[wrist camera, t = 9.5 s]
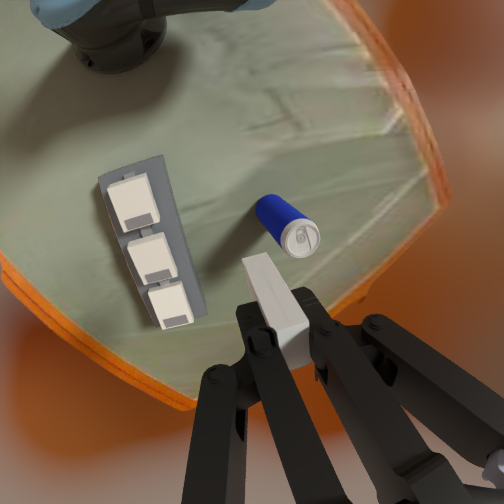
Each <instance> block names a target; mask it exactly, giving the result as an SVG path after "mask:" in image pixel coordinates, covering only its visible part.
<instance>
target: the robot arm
mask: <svg viewBox="0 0 504 504" xmlns="http://www.w3.org/2000/svg"><path fill="white" fill-rule="evenodd" d="M275 1H277V0H30V8H31V11H32V13H33V15H34V16H35V17H36V18H37V19H38V20H40V21H41V23H42V25H43V26H44V27H46V28H48V29H50V30H52V31H54V32H55V33H57V34H59V35H60V36H62V37H63V38H65V39H67V40H68V41H70V42H71V43H73V44H74V48H75V53H76V55H77V57H78V59H79V60H80V62H81V63H82V64H83V65H84V66H86V67H87V68H89V69H91V70H92V71H95V72H97V73H102V74H115V73H121V72H124V71H127V70H130V69H132V68H134V67H136V66H138V65H140V64H141V63H143V62H144V61H145V60H147V59H148V58H149V57H150V56H151V55H152V54H153V53H154V52H155V51H156V50H157V49H158V47H159V46H160V44H161V43H162V41H163V39H164V36H165V33H166V28H167V21H166V16H169V15H176V14H184V13H194V12H207V11H224V12H235V11H240V10H260V9H263V8H266V7H269V6H270V5H272V4H273V3H274V2H275ZM242 262H243V267H244V271H245V276H246V280H247V285H248V289H249V294H250V297H251V300H252V302H250V303H246V304H243V305H239V306H238V307H237V310H236V317H237V320H238V324H239V327H240V331H241V334H242V338H243V341H244V345H245V354H244V356H243V357H242V358H241V360H240V361H238V362H237V363H235V364H233V365H232V366H228V365H224V364H218V365H214V366H212V367H210V368H208V369H207V370H206V371H205V372H204V374H203V376H202V380H201V385H200V391H199V396H198V402H197V408H196V413H195V419H194V425H193V431H192V437H191V443H190V450H189V456H188V462H187V468H186V474H185V481H184V488H183V495H182V502H181V504H245V503H244V502H245V478H246V477H245V476H246V449H247V423H248V408H249V407H251V406H252V405H254V404H256V403H257V402H259V401H261V402H262V405H263V408H264V411H265V414H266V417H267V420H268V423H269V426H270V430H271V433H272V436H273V439H274V442H275V445H276V448H277V450H278V454H279V456H280V459H281V462H282V465H283V468H284V471H285V474H286V477H287V480H288V482H289V485H290V488H291V491H292V494H293V496H294V499H295V502H296V504H353V503H352V502H351V501H350V500H349V499H348V498H347V496H346V494H345V492H344V490H343V488H342V486H341V483H340V481H339V479H338V477H337V475H336V473H335V470H334V468H333V466H332V464H331V462H330V459H329V457H328V455H327V453H326V451H325V448H324V446H323V444H322V442H321V440H320V437H319V435H318V433H317V431H316V429H315V426H314V424H313V422H312V420H311V417H310V415H309V413H308V411H307V409H306V406H305V404H304V402H303V400H302V398H301V395H300V393H299V390H298V388H297V386H296V384H295V381H294V379H293V377H292V375H291V373H290V370H293V369H296V368H299V367H302V366H305V365H308V364H311V358H312V360H313V361H314V363H315V380H316V381H318V378H319V380H320V382H321V384H322V386H323V387H324V389H325V391H326V393H327V395H328V397H329V399H330V401H331V403H332V405H333V406H334V408H335V410H336V413H337V415H338V416H339V418H340V420H341V422H342V424H343V426H344V428H345V430H346V432H347V434H348V436H349V438H350V440H351V441H352V444H353V446H354V447H355V449H356V451H357V453H358V455H359V457H360V459H361V461H362V463H363V465H364V467H365V469H366V471H367V473H368V475H369V477H370V479H371V480H372V482H373V484H374V486H375V489H376V491H377V499H378V502H379V504H504V398H502V397H501V396H500V395H498V394H497V393H495V392H494V391H493V390H491V389H490V388H489V387H487V386H486V385H484V384H483V383H482V382H480V381H479V380H477V379H476V378H475V377H473V376H472V375H470V374H469V373H468V372H466V371H465V370H463V369H462V368H460V367H459V366H458V365H456V364H455V363H453V362H452V361H451V360H449V359H448V358H446V357H445V356H443V355H442V354H440V353H439V352H438V351H436V350H435V349H433V348H432V347H430V346H429V345H428V344H426V343H425V342H423V341H421V340H420V339H419V338H417V337H416V336H414V335H413V334H411V333H410V332H408V331H407V330H406V329H404V328H403V327H401V326H399V325H398V324H397V323H395V322H394V321H392V320H391V319H389V318H388V317H386V316H384V315H382V314H371V315H369V316H366V318H364V319H363V322H362V324H361V325H352V326H345V325H342V324H341V323H340V322H339V321H336V320H333V319H332V318H331V317H330V315H329V314H328V313H327V311H326V310H325V309H324V307H323V306H322V304H321V303H320V302H319V300H318V299H317V298H316V296H315V295H314V293H313V292H312V291H311V290H309V289H308V288H306V287H300V288H297V289H294V290H289V288H288V286H287V285H286V283H285V281H284V280H283V278H282V277H281V275H280V273H279V272H278V270H277V269H276V267H275V265H274V264H273V262H272V261H271V259H270V257H269V256H268V254H267V253H266V252H265V253H262V254H258V255H254V256H250V257H246V258H242ZM400 405H401V406H402V407H404V408H405V409H406V410H407V411H408V412H409V413H411V414H412V415H413V416H414V417H415V418H416V419H418V420H419V421H420V422H421V423H422V424H423V425H425V426H426V427H427V428H428V429H429V430H431V431H432V432H433V433H434V434H436V436H438V437H439V438H440V439H441V440H443V441H444V442H445V443H446V444H447V445H449V446H450V447H451V448H452V449H453V450H454V451H456V452H457V453H458V454H459V455H460V456H462V457H463V458H464V459H466V460H467V461H469V462H470V463H472V464H474V465H476V466H479V467H482V468H485V469H484V471H483V472H482V478H483V479H484V480H489V481H491V482H492V483H494V485H495V486H496V489H493V488H486V487H478V486H473V485H467V484H463V483H462V482H461V480H460V479H459V477H458V476H457V474H456V472H455V471H454V469H453V468H452V466H451V465H450V463H449V461H448V460H447V459H446V458H445V457H444V456H443V455H442V454H440V453H436V452H432V451H431V450H430V449H429V447H428V446H427V444H426V443H425V441H424V440H423V438H422V437H421V435H420V434H419V432H418V431H417V429H416V428H415V426H414V425H413V423H412V422H411V420H410V419H409V417H408V416H407V414H406V413H405V411H404V410H403V408H402V407H401V406H400Z"/></svg>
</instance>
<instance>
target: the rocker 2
mask: <svg viewBox="0 0 504 504" xmlns="http://www.w3.org/2000/svg"><path fill="white" fill-rule="evenodd" d="M127 249H128V251H129V254H130V256H131V258H132V260H133V262H134V265H135V267H136V269H137V271H138V273H139V275H140V277H141V279H142V282H143V284H144V285H147V284H150V283H154V282H158V281H162V280H166V279H170V278H174V277H177V276H178V273H177V267H176V265H175V262H174V259H173V257H172V253H171V249H170V248H169V246H168V243H167V240H166V237H165V234H164V232H161V233H157V234H154V235H150V236H147V237H143V238H140V239H137V240H133V241H130V242H129V243H128V247H127Z"/></svg>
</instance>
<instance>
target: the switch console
mask: <svg viewBox="0 0 504 504" xmlns="http://www.w3.org/2000/svg"><path fill="white" fill-rule="evenodd" d="M143 173H146V174H147V177H148V180H149V183H150V187H151V190H152V192H153V194H154V199H155V202H156V205H157V208H158V211H159V214H160V222H158V223H154V224H151V225H147V226H144V227H141V228H137V229H134V230H131V231H127V232H124V231H123V229H122V227H121V224H120V222H119V219H118V217H117V214H116V212H115V209H114V207H113V204H112V201H111V199H110V196H109V194H108V191H107V188H108V187H109V185H110V184H113V183H116V182H119V181H122V180H125V179H128V178H131V177H134V176H137V175H140V174H143ZM98 181H99V185H100V188H101V192H102V195H103V198H104V201H105V204H106V207H107V211H108V215H109V218H110V220H111V223H112V226H113V229H114V231H115V234H116V236H117V239H118V242H119V244H120V247H121V250H122V252H123V255H124V257H125V260H126V263H127V266H128V268H129V270H130V273H131V275H132V278H133V279H134V281H135V284H136V287H137V289H138V291H139V294H140V296H141V298H142V300H143V302H144V304H145V306H146V308H147V310H148V312H149V314H150V316H151V318H152V320H153V322H154V324H155V326H156V327H158V326H161V325H160V323H159V320H158V318H157V315H156V313H155V310H154V308H153V305H152V303H151V300H150V297H149V295H148V291H149V289H150V288H153V287H157V286H161V285H165V284H169V283H173V282H177V281H182V284H183V287H184V290H185V293H186V296H187V298H188V302H189V305H190V308H191V311H192V313H193V316H194V318H197V317H201V316H205V315H208V313H207V306H206V301H205V298H204V295H203V292H202V289H201V286H200V283H199V280H198V276H197V273H196V270H195V267H194V264H193V261H192V258H191V254H190V251H189V248H188V244H187V241H186V238H185V234H184V231H183V228H182V224H181V221H180V217H179V214H178V210H177V206H176V203H175V199H174V196H173V192H172V188H171V184H170V180H169V176H168V173H167V169H166V165H165V161H164V156H163V155H159V156H156V157H153V158H149V159H146V160H143V161H140V162H137V163H134V164H130V165H128V166H125V167H122V168H119V169H116V170H113V171H110V172H108V173H105V174H103V175H101V176H99V177H98ZM161 232H164V234H165V237H166V240H167V243H168V246H169V248H170V249H171V253H172V257H173V259H174V262H175V265H176V267H177V273H178V276H177V277H174V278H170V279H166V280H162V281H158V282H154V283H150V284H147V285H144V284H143V282H142V279H141V277H140V275H139V273H138V271H137V269H136V267H135V265H134V262H133V260H132V258H131V256H130V254H129V251H128V249H127V247H128V243H129V242H130V241H133V240H137V239H140V238H143V237H147V236H150V235H154V234H157V233H161Z"/></svg>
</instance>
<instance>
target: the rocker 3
mask: <svg viewBox="0 0 504 504" xmlns="http://www.w3.org/2000/svg"><path fill="white" fill-rule="evenodd" d="M148 295H149V297H150V300H151V303H152V305H153V308H154V310H155V313H156V315H157V318H158V320H159V323H160V325H161V327H162V330H163V329H167V328H172V327H176V326H180V325H185V324H189V323H193V322H194V316H193V313H192V311H191V308H190V305H189V302H188V298H187V296H186V293H185V290H184V287H183V284H182V281H177V282H173V283H169V284H165V285H161V286H157V287H153V288H150V289H149V291H148Z"/></svg>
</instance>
